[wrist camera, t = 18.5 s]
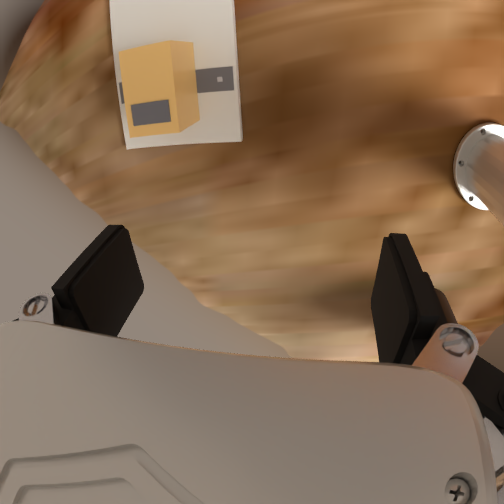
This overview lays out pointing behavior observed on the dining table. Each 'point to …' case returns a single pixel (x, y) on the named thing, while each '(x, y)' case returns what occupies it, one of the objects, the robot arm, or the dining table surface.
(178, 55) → the tan rectangular block
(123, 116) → the white flat panel
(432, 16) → the dining table surface
